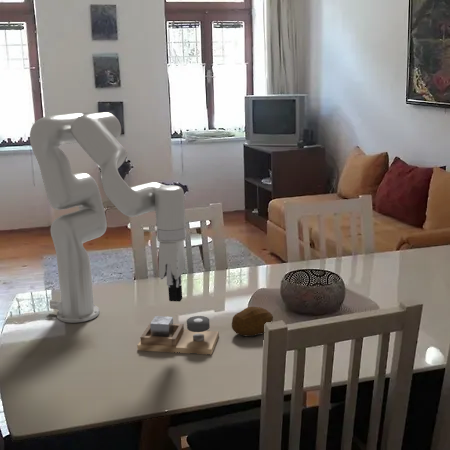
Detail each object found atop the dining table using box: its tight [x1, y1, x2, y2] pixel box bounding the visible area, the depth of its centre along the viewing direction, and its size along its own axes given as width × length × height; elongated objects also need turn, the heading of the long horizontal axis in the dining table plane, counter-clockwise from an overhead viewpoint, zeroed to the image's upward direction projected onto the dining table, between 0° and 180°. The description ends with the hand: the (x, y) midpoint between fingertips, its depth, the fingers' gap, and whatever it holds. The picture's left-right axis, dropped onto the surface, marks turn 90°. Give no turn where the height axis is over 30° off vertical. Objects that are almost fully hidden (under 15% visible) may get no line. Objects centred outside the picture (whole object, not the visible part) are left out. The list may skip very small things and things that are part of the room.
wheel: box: [186, 315, 211, 332], centre depth 164 cm, size 6×6×2 cm
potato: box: [231, 306, 274, 337], centre depth 171 cm, size 8×12×8 cm, turn 120°
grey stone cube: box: [149, 315, 174, 337], centre depth 167 cm, size 5×5×5 cm
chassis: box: [136, 321, 220, 355], centre depth 166 cm, size 20×11×4 cm, turn 81°
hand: (175, 300), depth 163 cm, fingers closed
